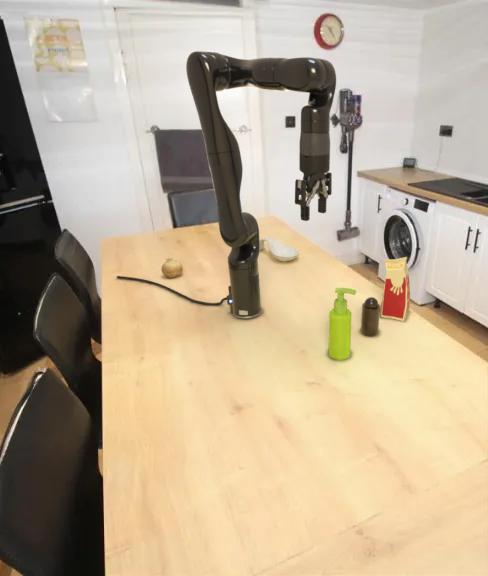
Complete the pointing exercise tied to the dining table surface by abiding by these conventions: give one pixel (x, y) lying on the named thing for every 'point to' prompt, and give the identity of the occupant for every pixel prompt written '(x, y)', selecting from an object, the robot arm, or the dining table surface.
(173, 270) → the onion
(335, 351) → the soap dispenser
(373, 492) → the dining table surface
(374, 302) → the pepper mill
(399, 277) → the red cream snack bag
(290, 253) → the spoon rest
